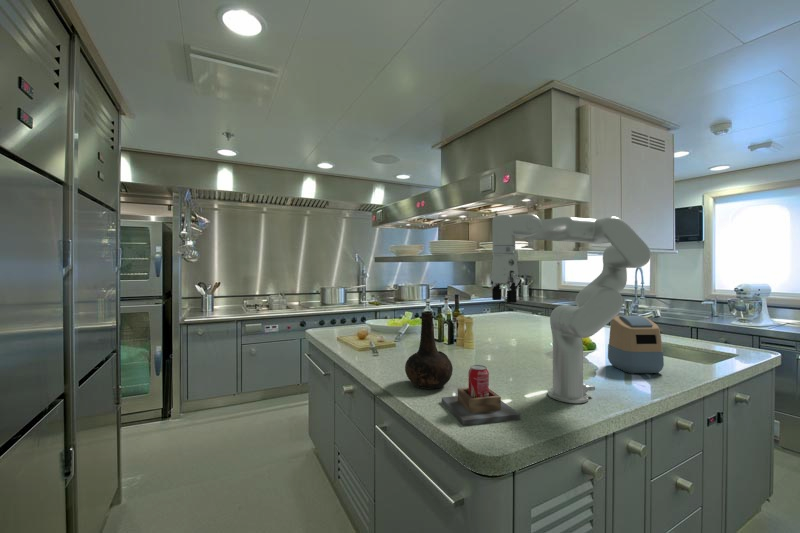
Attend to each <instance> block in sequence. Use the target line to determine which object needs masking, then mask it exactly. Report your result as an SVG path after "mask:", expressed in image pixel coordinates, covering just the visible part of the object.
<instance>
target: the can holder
mask: <svg viewBox="0 0 800 533" xmlns="http://www.w3.org/2000/svg"><path fill="white" fill-rule="evenodd" d="M441 403H442V404H443V405H444V407H445V408H446V409H447V410H448V411H449V412H450V413H451V415H453V417H455V418H456V419H457V421H458V422H459V423H460V424H461V425H462V426H472V425H473V426H474V425H482V424H488V423H489V424H490V423H499V422H508V421H509V422H510V421H516V420H517V421H518V420H521V413H519V412H518V411H516V410H515V409H514V408H512V407H511V406H509V405H508V404H507V403H505V402H504V401H503V400H502V399H501V396H500V394H497V393H496V392H494V391H493V390H492V389H490V388H489V396H488V397H478V398H472V397H471V396H470V395H469V387H464V388H463V387H461V388H457V395H453V396H443V397H441Z"/></svg>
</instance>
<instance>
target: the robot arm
mask: <svg viewBox="0 0 800 533" xmlns="http://www.w3.org/2000/svg"><path fill="white" fill-rule="evenodd" d="M516 239H522V240H536V241H551V242H552V241H553V242H569V243H570V242H572V243H583V244H596V245H597V244H598V245H601V244H607V243H608V244H609V243H610V244H611V245H609V246H608V247H607V248H605V249H604V251H603V254H602V263H603V264H602V271H601V273H600V274H599V275H598V276H597V277H596V278H595V279H593V280H592V281H591V282H590V283H589V284H587V285H586V286H585V287H584V288H582V289H581V290H580V291H579V292H578V293H577V294H576V297H575V305H576V306H574V305H570V304H562V305H558V306H556V307H555V308H554V309H553V310H552V312H551V314H550V316H549V324H550V331H551V336H552V388H551V387H550V388H549V389H548V390H547V396H549V397H550V398H552V399H554V400H555V401H558V402H563V403H567V404H583V403H587V402H588V401H589V395H588V394H587V392H591V391H592V392H594V391H595V390H596V387H595V385H594V384H586V383H584V344H583V342H584V341H583V339H586V338H590V337H592V336H594V335H595V334H597V333H598V332H599V331H600V330H601V329H603V328H604V327H605V326H607V325H608V324H609V323H611V321H612V319H613V318H615V317H616V316H619V314H620V312H621V310H622V309H623V305H624V300H623V296H622V294H621V292H622V291H623V290H624V289H625V287H626V285H627V281H628V271H627V269H635V268H638V269H639V268H642V267H644V266H645V265H647V264H648V263H649V262H650V259H651V256H652V255H651V254H652V253H651V250H650V247H649V246H648V244H647V243H646V242H645V241H644V240H643V238H641V236H640V235H639V234H637V233H636V231H635V230H634V229H633V228H632V227H631V226H630V225H629V224H628V223H627V222H626V221H624V219H621V218H620V217H617V216H609V217H608V216H607V217H603V218H587V217H586V218H584V217H574V216H573V217H572V216H561V217H554V218H546V219H543V218H542V219H540V217H539V216H537V215H536V214H533V213H525V214H524V213H523V214H516V215H515V214H513V215H512V214H499V215H497V214H496V215H495V216H493V218H492V257H493V258H492V265H491V275H490V276H489V278H490V284H491V289H492V290H491V291H492V292H491V294H492V296H491V297H492V299H491V300H493V301H501V300H502V288H501V287H502V285H506V288H507V290H506V302H507V303H508V304H510V303H511V304H513V303H514V304H515V303H517V291H518V287H519V282H520V279H521V278H520V277H519V267H518V266H519V265H518V261H517V255H516Z"/></svg>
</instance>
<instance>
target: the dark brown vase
mask: <svg viewBox="0 0 800 533" xmlns="http://www.w3.org/2000/svg"><path fill="white" fill-rule="evenodd" d="M419 319H421V324H420V328H421V329H420V341H419V347H418V350H417V352H415V353H413V354H412V355H410V356H409V357H408V359H407V360H406V362H405V366H404V371H405V374H406V377H407V379H408V380H409V381H410V382H411V383H412V384H413V385H415V386H416V387H418V388H421V389H427V390H428V389H429V390H430V389H431V390H432V389H433V390H434V389H438V388H441V387H444V386H445V385H446V384H447V383H448V382H449V381H450V380H451V377H452V375H453V370H454V369H453V364H452V361H451V360H450V358H449V357H448V355H447V354H446V353H444V352H443V351H440V350H438V349H437V345H436V340H435V333H434V319H435V316H434V313H433V311H422V312H421V315H420V316H419Z"/></svg>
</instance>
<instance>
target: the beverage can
mask: <svg viewBox="0 0 800 533" xmlns="http://www.w3.org/2000/svg"><path fill="white" fill-rule="evenodd" d="M489 375H490V374H489V370H488V368H487V365H482V364H473V365H470V368H469V369H468V375H467V376H468V377H467V378H468V388H469V395H470V396H471V397H472V398H478V397H488V396H489V389H490V384H489V382H490V376H489Z"/></svg>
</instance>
